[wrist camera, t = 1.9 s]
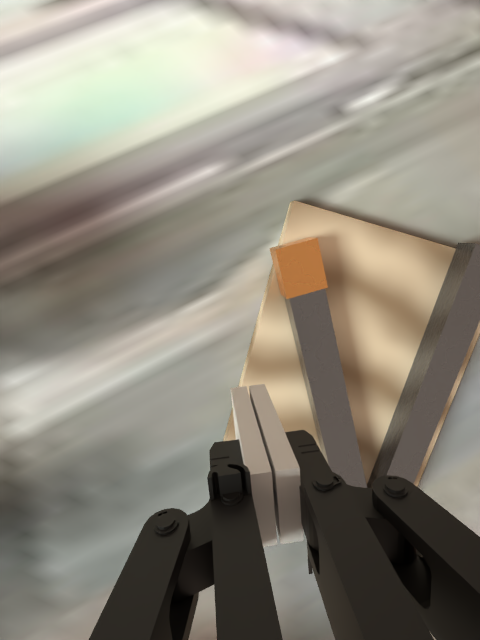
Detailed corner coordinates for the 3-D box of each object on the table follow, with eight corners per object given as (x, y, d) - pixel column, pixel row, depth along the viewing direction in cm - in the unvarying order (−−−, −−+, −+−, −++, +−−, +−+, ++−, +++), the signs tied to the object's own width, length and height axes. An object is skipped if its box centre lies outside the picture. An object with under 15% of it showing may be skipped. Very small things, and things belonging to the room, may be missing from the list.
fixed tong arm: (389, 501, 38) (400, 516, 36) (362, 496, 38) (372, 512, 36) (487, 251, 33) (507, 253, 31) (458, 242, 33) (476, 243, 31)
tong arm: (366, 499, 38) (378, 519, 35) (332, 510, 38) (341, 531, 35) (310, 237, 31) (320, 237, 28) (268, 248, 31) (274, 250, 28)
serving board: (394, 514, 41) (401, 524, 39) (210, 484, 37) (211, 494, 36) (495, 262, 35) (508, 264, 34) (290, 202, 32) (294, 200, 30)
